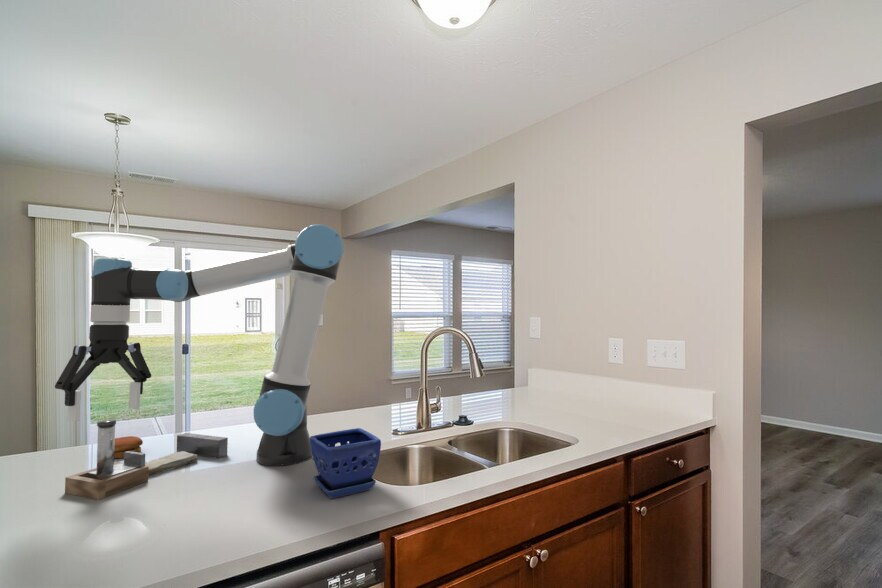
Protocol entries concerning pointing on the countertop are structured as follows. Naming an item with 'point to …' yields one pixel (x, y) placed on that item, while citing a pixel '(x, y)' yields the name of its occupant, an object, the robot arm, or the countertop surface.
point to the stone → (170, 461)
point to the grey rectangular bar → (202, 445)
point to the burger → (126, 445)
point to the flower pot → (345, 461)
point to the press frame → (104, 483)
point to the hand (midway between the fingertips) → (105, 414)
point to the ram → (112, 454)
